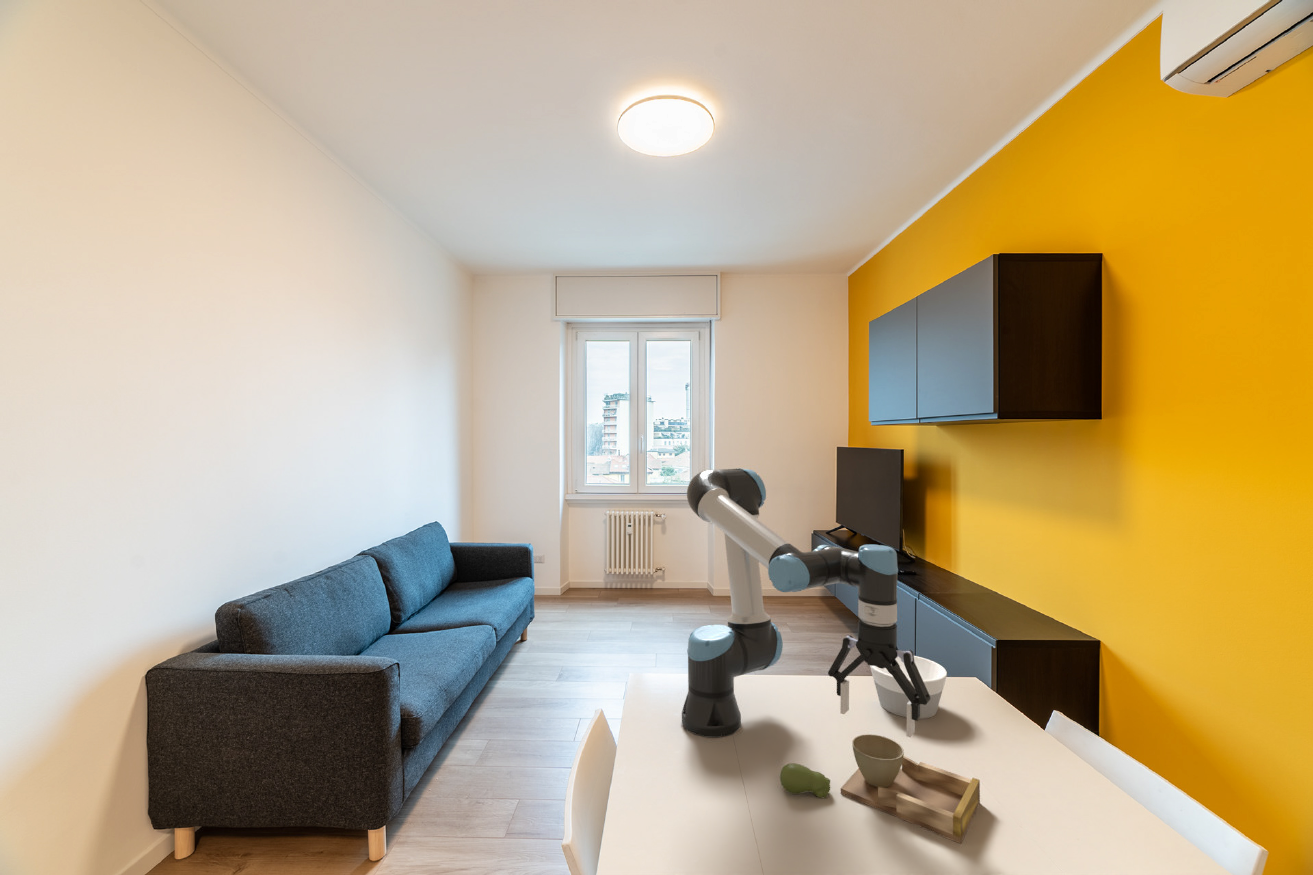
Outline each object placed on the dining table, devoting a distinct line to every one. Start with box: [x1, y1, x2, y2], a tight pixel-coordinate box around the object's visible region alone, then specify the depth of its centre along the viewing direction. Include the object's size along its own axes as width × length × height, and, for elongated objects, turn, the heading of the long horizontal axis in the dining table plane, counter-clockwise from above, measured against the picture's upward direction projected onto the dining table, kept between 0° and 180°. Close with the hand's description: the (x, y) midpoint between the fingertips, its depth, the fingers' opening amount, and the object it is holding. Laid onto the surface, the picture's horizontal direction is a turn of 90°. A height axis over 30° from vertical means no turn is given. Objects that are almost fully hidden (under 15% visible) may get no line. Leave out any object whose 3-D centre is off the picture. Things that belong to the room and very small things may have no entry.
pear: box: [779, 762, 831, 799], centre depth 114 cm, size 6×5×10 cm
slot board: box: [840, 755, 981, 845], centre depth 112 cm, size 22×15×4 cm
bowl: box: [869, 655, 948, 720], centre depth 152 cm, size 19×19×11 cm
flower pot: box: [851, 733, 905, 788], centre depth 116 cm, size 10×10×7 cm
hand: (876, 722), depth 117 cm, fingers open, 13 cm apart
